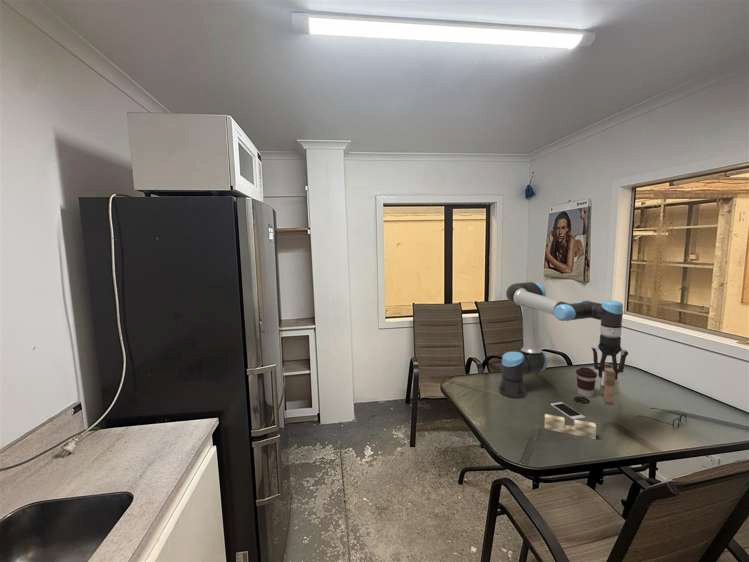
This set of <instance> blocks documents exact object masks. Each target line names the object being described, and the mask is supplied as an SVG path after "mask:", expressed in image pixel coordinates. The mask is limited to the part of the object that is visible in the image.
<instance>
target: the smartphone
mask: <svg viewBox="0 0 749 562" xmlns="http://www.w3.org/2000/svg"><path fill="white" fill-rule="evenodd" d="M550 405H551V406H552V407H553V408H555V409H556V410H558V411H559V412H561V413H563V414H564V415H565V416H567V417H568V418H570V419H572V420H573V421H574V419H575V420H579V419H580V420H581V419H585V418H586V416H585V415H583V414H582V413H580V412H578V411H576V410H575V409H573V408H572V407H570V406H568V405H567V404H565V403H564V402H562V401H560V402H554V403H550Z"/></svg>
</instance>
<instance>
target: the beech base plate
mask: <svg viewBox="0 0 749 562" xmlns="http://www.w3.org/2000/svg"><path fill="white" fill-rule="evenodd" d="M565 423H566V422H565V417H564V416H558V415H553V414H547V413H545V414H544V429H545V430H547V431H548V430H549V431H553V432H559V433H561V434H568V435H572V436H577V437H583V438H586V439H587V438H588V439H592V440H596V437H597V425H596V422H590V421H586V420H585V421H584V420H581V419H580V420H579V419H574V420H573V425H567V424H565Z"/></svg>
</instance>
